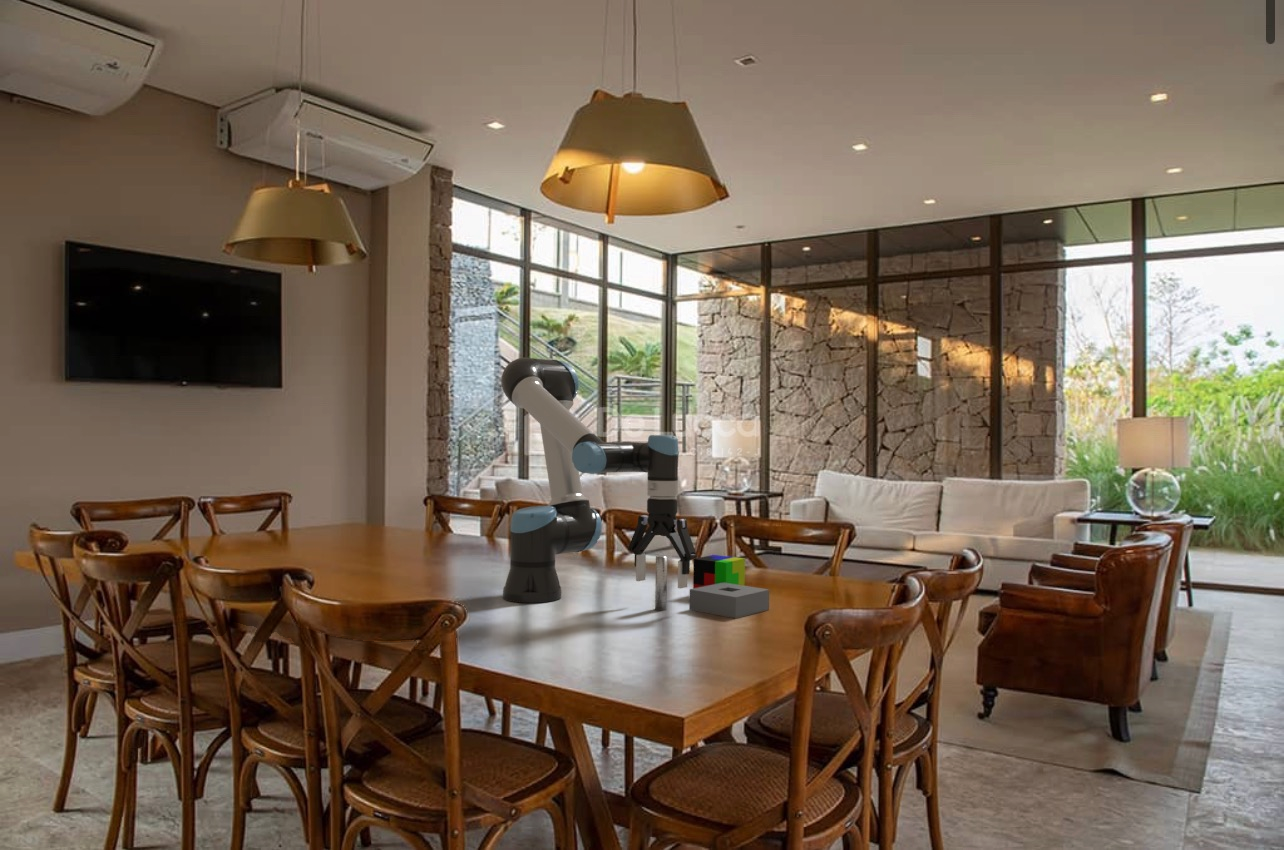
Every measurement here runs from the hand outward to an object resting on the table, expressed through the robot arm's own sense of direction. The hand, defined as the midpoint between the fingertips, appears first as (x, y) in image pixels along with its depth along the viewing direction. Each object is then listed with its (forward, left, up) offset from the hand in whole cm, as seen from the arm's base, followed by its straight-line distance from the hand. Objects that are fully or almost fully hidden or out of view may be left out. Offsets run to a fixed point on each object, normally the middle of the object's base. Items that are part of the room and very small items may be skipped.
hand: (661, 584), depth 213 cm
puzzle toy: (-1, +25, -7) cm, 26 cm away
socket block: (+12, +12, -6) cm, 18 cm away
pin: (0, 0, -6) cm, 6 cm away
